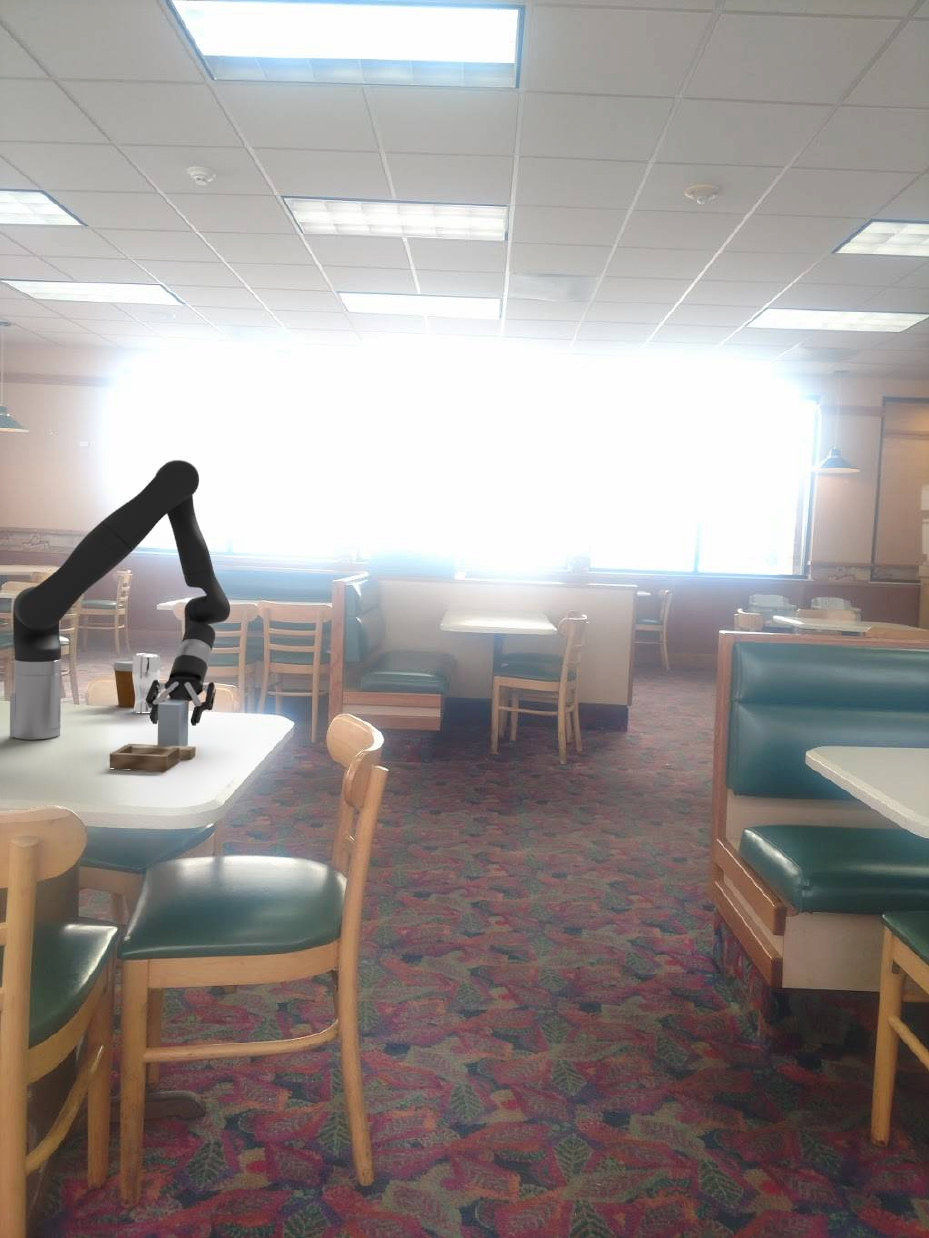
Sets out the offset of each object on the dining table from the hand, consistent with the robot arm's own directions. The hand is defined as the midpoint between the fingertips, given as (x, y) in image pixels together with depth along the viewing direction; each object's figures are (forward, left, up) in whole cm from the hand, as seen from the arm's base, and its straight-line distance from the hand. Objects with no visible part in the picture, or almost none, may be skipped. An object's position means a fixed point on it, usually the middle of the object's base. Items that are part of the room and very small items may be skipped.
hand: (173, 722), depth 180 cm
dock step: (0, -8, -5) cm, 9 cm away
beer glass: (-20, +37, -6) cm, 43 cm away
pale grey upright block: (0, 0, -5) cm, 6 cm away
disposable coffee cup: (-27, +45, -6) cm, 53 cm away
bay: (0, -15, -5) cm, 16 cm away
